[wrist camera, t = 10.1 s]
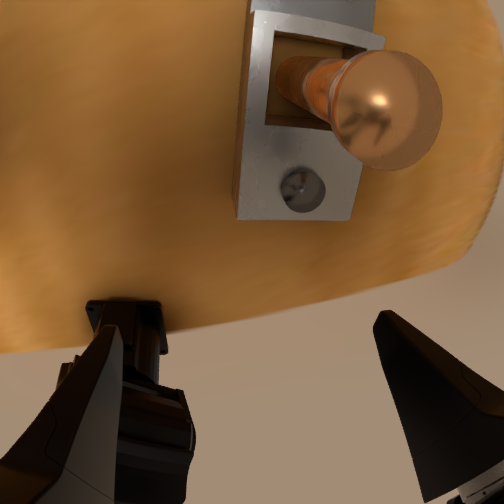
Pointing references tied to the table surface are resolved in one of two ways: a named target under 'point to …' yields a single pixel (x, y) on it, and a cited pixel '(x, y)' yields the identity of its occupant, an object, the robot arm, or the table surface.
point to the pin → (369, 103)
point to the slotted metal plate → (295, 129)
